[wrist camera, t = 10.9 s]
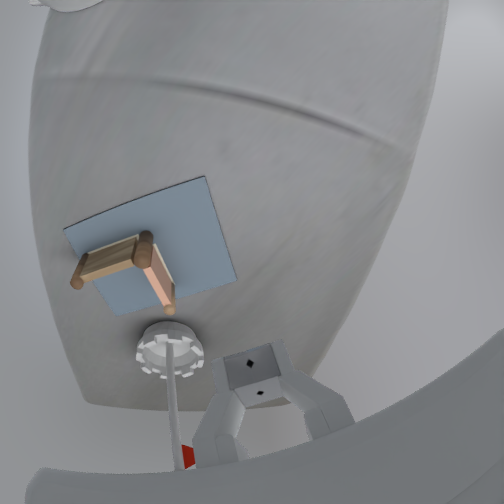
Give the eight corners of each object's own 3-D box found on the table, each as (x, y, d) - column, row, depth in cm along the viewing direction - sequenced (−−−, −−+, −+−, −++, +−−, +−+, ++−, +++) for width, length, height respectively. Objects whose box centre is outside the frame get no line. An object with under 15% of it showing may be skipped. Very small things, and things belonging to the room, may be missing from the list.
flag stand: (148, 361, 56) (154, 492, 31) (128, 321, 48) (122, 478, 24) (205, 354, 58) (231, 487, 33) (195, 312, 51) (220, 473, 26)
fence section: (155, 245, 41) (152, 267, 36) (176, 288, 46) (177, 313, 41) (144, 248, 40) (140, 271, 36) (166, 291, 45) (166, 316, 41)
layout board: (63, 229, 36) (62, 230, 36) (204, 176, 38) (204, 176, 37) (116, 315, 47) (116, 316, 47) (236, 279, 48) (237, 280, 48)
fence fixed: (79, 254, 39) (67, 280, 33) (150, 228, 40) (145, 252, 34) (85, 265, 40) (75, 291, 34) (155, 240, 41) (152, 265, 35)
